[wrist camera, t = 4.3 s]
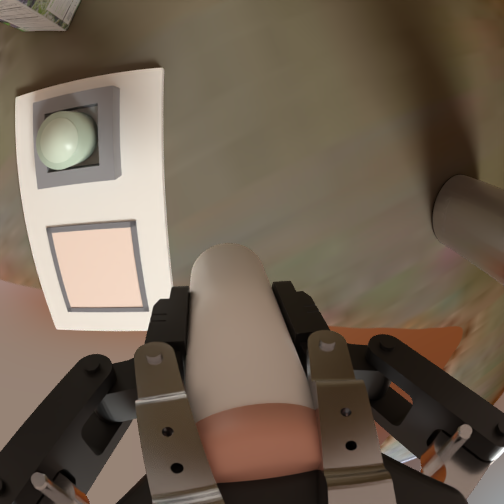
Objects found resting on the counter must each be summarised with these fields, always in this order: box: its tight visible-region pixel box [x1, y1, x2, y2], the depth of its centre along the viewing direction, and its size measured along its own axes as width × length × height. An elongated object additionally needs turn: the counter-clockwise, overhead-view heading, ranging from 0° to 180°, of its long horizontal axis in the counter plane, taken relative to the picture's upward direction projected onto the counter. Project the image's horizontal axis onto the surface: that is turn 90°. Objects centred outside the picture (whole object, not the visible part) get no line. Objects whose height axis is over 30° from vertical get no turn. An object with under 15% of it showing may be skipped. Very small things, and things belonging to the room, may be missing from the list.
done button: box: [36, 111, 98, 170], centre depth 17 cm, size 4×4×3 cm
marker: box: [184, 243, 321, 483], centre depth 10 cm, size 4×4×10 cm
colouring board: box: [15, 68, 173, 331], centre depth 22 cm, size 14×24×3 cm, turn 179°
